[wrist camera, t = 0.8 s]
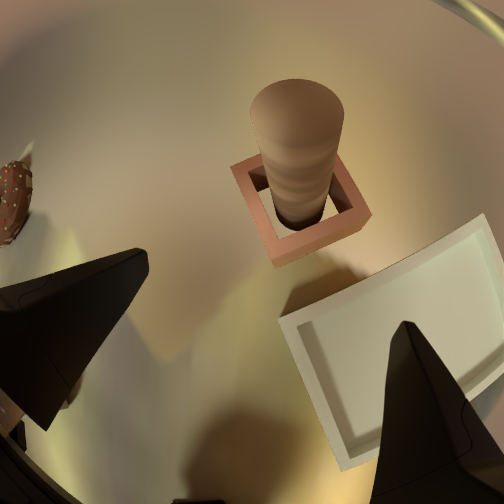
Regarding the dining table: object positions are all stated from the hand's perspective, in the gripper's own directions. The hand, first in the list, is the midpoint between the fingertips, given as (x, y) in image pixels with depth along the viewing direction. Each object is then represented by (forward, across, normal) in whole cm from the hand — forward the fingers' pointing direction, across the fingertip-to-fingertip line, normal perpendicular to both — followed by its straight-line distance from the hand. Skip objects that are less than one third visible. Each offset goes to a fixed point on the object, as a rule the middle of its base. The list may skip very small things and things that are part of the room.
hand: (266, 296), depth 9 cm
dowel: (+15, +1, +3) cm, 15 cm away
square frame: (+15, +1, +3) cm, 15 cm away
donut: (+10, +42, +8) cm, 44 cm away
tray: (+10, -12, +9) cm, 18 cm away
